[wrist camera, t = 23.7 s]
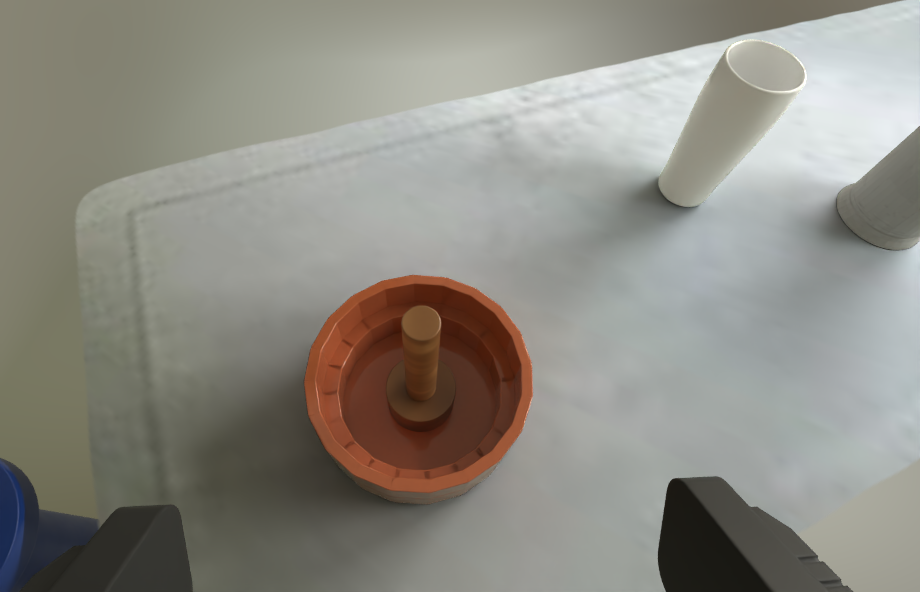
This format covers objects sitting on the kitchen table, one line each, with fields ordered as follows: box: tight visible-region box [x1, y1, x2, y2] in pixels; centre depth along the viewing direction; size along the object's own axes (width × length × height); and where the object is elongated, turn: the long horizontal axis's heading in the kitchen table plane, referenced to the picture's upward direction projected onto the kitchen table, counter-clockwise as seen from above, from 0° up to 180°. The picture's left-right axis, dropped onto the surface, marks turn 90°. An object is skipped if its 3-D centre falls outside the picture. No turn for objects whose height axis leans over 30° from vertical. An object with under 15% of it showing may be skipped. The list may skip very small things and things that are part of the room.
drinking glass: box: [658, 40, 807, 207], centre depth 47 cm, size 7×7×15 cm
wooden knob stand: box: [386, 306, 456, 432], centre depth 34 cm, size 5×5×14 cm
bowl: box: [304, 275, 533, 504], centre depth 38 cm, size 16×16×6 cm
